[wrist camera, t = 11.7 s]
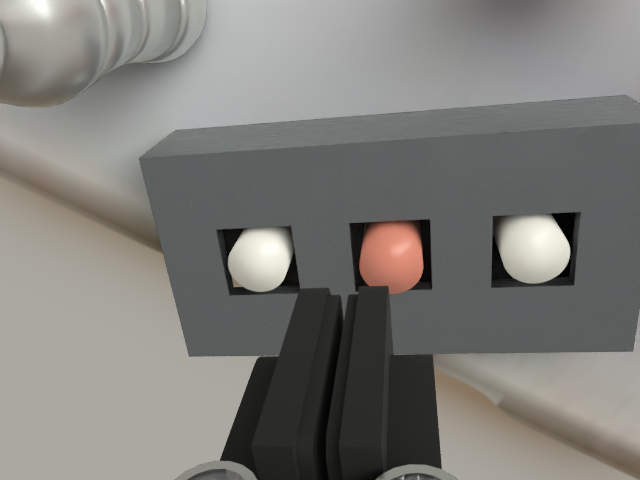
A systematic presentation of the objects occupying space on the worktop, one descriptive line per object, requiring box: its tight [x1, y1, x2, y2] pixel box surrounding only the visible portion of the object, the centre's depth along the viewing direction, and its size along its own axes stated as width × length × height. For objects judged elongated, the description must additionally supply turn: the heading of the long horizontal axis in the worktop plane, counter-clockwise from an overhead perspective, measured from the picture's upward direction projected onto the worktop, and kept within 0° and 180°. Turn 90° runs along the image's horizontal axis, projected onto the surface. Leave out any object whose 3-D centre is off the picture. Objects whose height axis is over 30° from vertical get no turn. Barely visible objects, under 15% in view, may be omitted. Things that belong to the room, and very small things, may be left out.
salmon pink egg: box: [359, 220, 423, 294], centre depth 35 cm, size 4×4×6 cm
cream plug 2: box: [492, 213, 570, 284], centre depth 34 cm, size 4×4×6 cm
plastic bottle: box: [0, 0, 207, 107], centre depth 26 cm, size 6×7×20 cm
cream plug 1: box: [228, 226, 295, 292], centre depth 37 cm, size 4×4×6 cm
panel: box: [139, 95, 640, 356], centre depth 36 cm, size 28×14×6 cm, turn 96°
